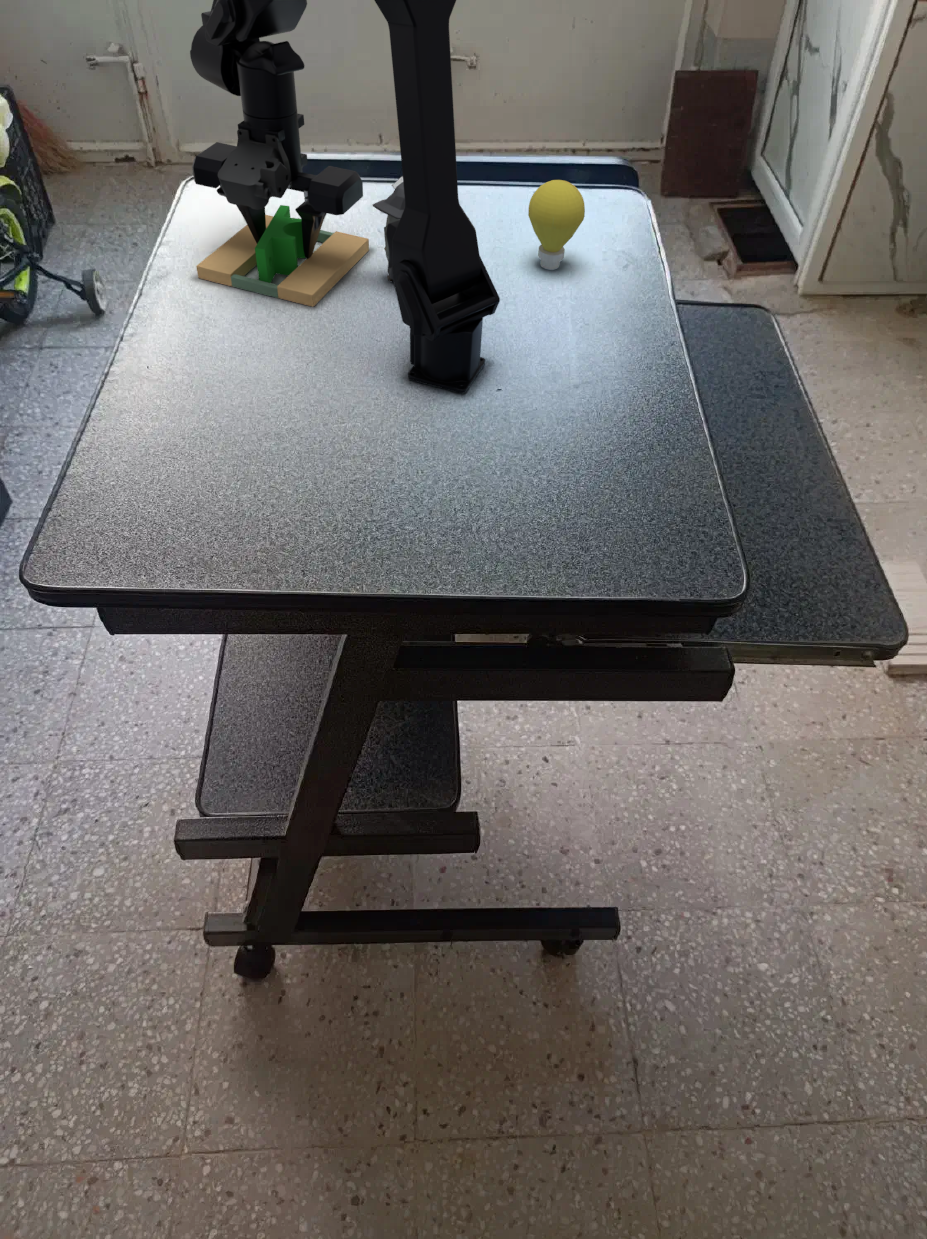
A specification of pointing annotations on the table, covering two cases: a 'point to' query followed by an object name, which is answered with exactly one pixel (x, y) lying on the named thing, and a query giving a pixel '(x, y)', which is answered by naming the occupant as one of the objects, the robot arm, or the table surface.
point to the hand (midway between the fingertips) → (285, 251)
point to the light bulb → (555, 219)
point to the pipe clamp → (279, 246)
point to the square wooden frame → (302, 282)
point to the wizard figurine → (392, 214)
